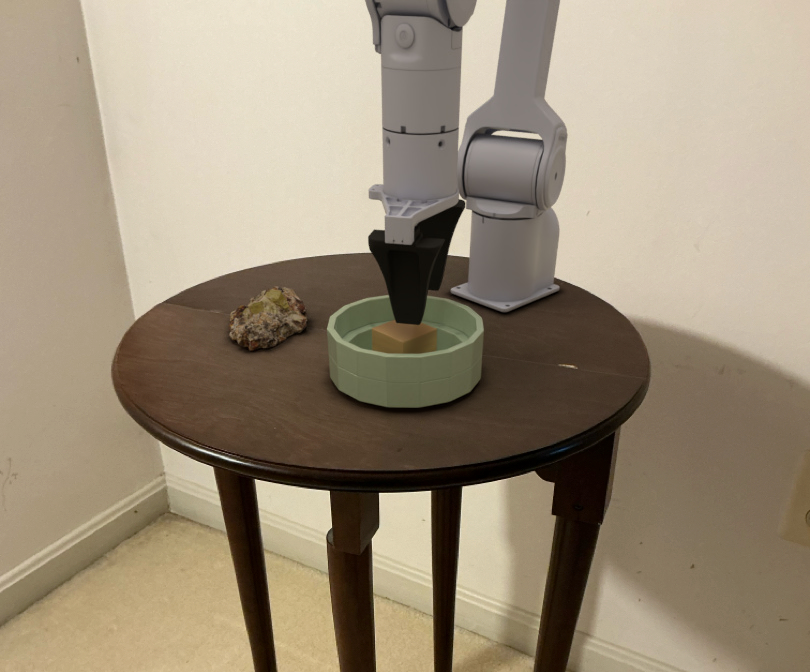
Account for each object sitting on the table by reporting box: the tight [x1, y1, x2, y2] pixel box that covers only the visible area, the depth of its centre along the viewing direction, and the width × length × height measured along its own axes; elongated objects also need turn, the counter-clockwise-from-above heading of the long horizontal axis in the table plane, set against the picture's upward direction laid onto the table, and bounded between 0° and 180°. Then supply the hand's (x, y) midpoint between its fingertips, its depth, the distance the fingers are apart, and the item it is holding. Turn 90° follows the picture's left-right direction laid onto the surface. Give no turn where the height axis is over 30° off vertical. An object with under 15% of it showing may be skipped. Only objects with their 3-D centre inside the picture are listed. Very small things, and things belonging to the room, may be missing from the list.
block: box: [372, 320, 437, 354], centre depth 67 cm, size 4×4×4 cm
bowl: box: [326, 294, 485, 409], centre depth 67 cm, size 13×13×5 cm
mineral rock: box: [228, 286, 308, 352], centre depth 76 cm, size 11×4×8 cm
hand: (418, 304), depth 66 cm, fingers open, 7 cm apart
